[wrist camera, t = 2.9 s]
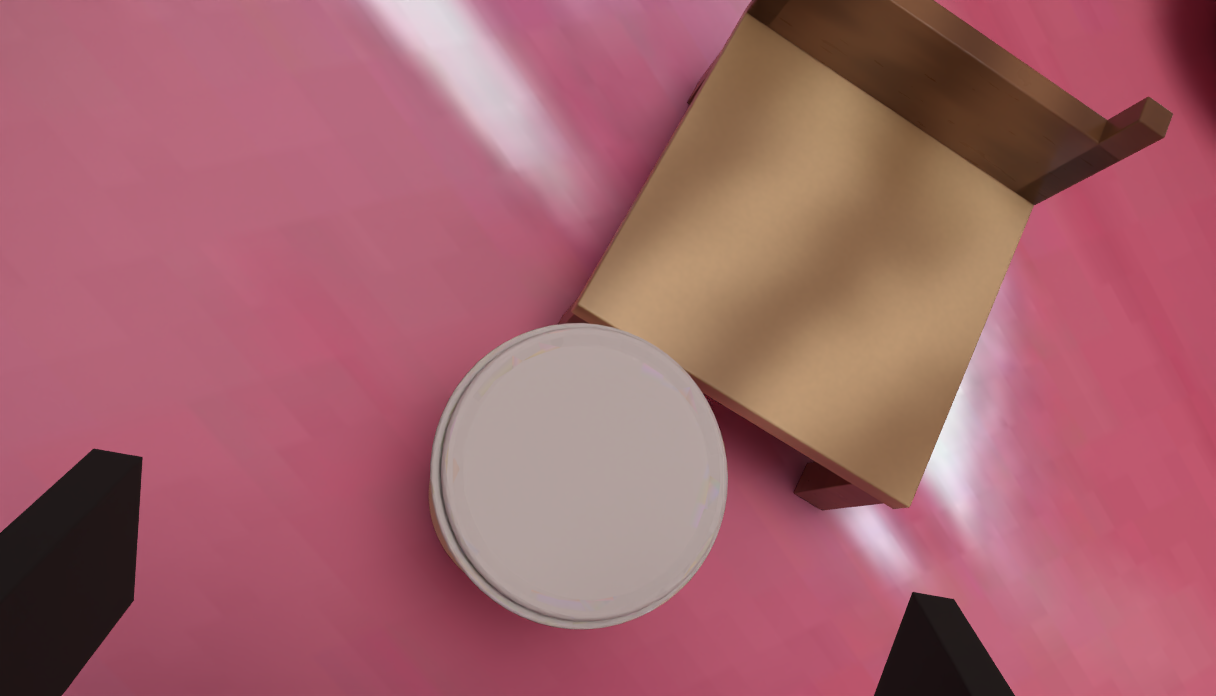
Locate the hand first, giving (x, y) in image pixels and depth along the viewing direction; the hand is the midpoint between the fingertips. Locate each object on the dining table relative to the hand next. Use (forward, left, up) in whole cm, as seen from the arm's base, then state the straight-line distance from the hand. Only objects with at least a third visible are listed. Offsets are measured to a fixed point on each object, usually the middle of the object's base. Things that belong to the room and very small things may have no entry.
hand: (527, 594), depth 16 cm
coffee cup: (+2, +5, -24) cm, 24 cm away
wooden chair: (+7, +19, -23) cm, 31 cm away
